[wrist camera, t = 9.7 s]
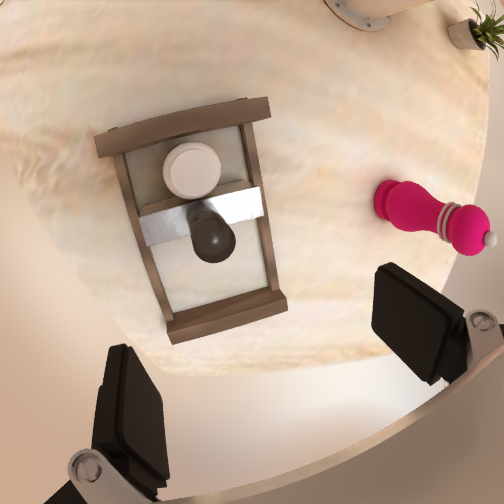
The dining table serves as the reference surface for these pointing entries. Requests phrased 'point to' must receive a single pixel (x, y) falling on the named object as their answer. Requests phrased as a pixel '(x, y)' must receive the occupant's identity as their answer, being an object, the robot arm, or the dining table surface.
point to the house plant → (476, 33)
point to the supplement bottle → (191, 170)
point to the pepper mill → (434, 216)
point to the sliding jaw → (203, 219)
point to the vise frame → (270, 297)
